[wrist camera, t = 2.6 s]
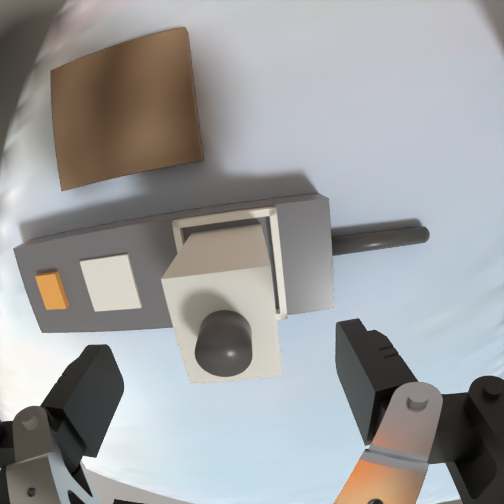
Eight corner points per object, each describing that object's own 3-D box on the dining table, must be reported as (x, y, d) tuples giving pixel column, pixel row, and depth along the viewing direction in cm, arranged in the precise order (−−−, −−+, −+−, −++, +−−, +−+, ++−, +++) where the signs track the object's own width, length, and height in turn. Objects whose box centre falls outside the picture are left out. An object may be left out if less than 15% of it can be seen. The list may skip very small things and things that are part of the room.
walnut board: (188, 33, 16) (185, 26, 15) (203, 160, 19) (201, 160, 18) (59, 73, 16) (50, 70, 15) (70, 189, 19) (61, 191, 18)
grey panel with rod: (424, 184, 20) (447, 190, 17) (422, 275, 22) (442, 291, 19) (31, 239, 20) (8, 250, 17) (56, 318, 22) (38, 336, 19)
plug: (261, 223, 18) (274, 282, 10) (270, 303, 19) (286, 399, 11) (191, 232, 18) (149, 296, 10) (206, 310, 19) (185, 407, 11)
